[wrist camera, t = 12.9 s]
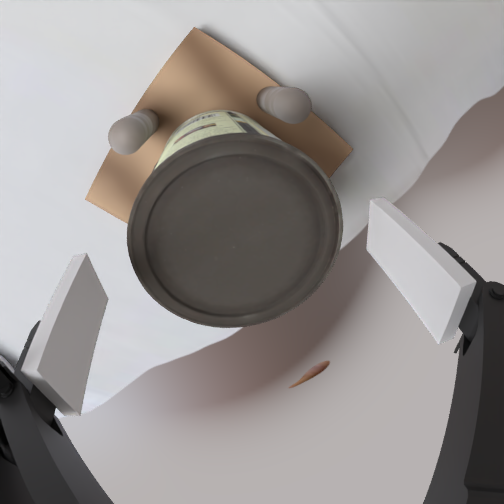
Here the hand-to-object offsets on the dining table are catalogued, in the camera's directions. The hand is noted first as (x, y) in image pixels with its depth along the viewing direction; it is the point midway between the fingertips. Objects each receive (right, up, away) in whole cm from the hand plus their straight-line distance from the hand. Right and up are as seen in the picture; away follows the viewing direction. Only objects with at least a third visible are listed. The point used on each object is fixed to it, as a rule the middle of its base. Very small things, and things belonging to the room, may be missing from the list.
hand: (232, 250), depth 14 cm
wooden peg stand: (-2, +8, +14) cm, 16 cm away
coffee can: (-2, +7, +13) cm, 15 cm away
